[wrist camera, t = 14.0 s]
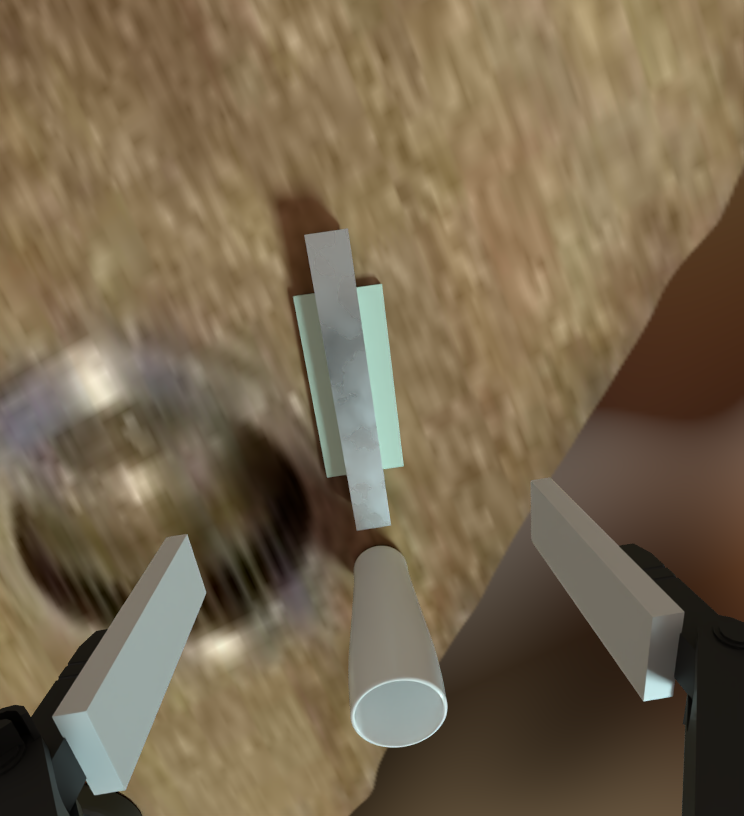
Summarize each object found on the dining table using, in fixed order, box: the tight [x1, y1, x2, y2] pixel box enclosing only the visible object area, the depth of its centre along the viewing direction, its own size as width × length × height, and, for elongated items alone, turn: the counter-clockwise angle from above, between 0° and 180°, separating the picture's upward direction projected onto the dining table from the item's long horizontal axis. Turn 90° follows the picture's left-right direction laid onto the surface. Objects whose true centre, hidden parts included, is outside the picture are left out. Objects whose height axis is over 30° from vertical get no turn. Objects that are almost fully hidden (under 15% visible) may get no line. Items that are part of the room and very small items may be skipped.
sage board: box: [293, 284, 404, 478], centre depth 36 cm, size 16×7×1 cm, turn 7°
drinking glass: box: [348, 546, 447, 747], centre depth 35 cm, size 7×7×15 cm
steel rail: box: [304, 229, 391, 531], centre depth 34 cm, size 24×3×3 cm, turn 8°
